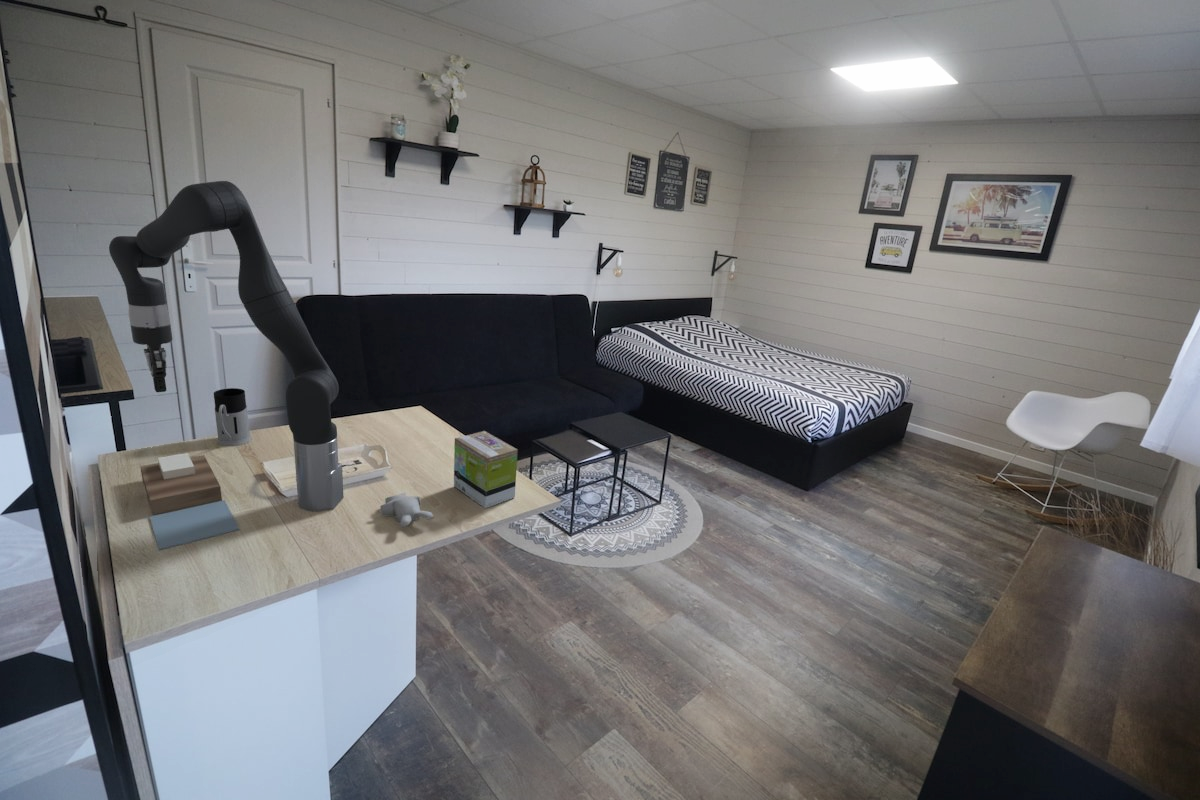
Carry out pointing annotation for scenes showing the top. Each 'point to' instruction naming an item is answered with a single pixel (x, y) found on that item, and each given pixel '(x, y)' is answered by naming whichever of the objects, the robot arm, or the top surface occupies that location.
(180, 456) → the white rectangular block
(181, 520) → the mat
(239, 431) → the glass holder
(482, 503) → the tea box
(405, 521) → the grey animal figure
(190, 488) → the deck
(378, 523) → the top surface
